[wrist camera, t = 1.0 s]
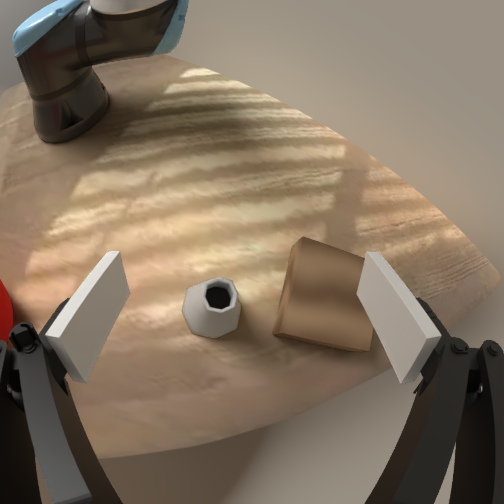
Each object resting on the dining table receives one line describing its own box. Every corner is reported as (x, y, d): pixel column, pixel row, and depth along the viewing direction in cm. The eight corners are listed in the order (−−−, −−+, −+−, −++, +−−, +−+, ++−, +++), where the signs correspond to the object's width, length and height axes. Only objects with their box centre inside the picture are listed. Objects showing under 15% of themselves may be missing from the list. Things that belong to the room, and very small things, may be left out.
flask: (179, 281, 33) (174, 257, 24) (237, 277, 34) (255, 252, 25) (184, 341, 31) (181, 340, 21) (244, 335, 32) (266, 332, 23)
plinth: (291, 247, 37) (302, 236, 34) (364, 271, 39) (380, 264, 35) (272, 334, 33) (282, 332, 29) (352, 351, 34) (369, 351, 31)
